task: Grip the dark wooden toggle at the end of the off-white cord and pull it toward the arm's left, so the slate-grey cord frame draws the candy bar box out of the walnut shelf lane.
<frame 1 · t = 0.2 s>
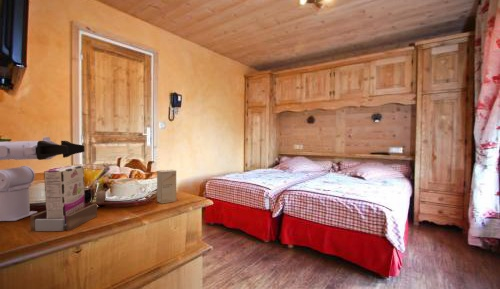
hand: (76, 149, 76), 22 cm above the dresser top, tool horizontal, fingers open, 7 cm apart
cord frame: (80, 207, 77), point 3 cm above the dresser top, slide at 0.0 cm
shelf lane: (67, 222, 72), on the dresser top
candy bar box: (67, 223, 72), resting in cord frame
skincare box: (167, 201, 95), on the dresser top
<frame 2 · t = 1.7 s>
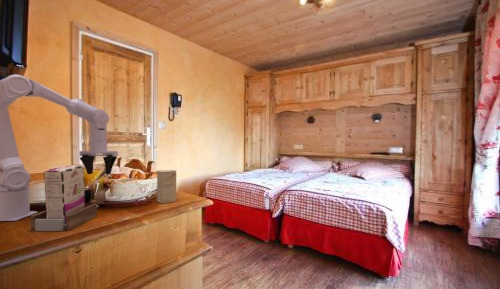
hand: (99, 174, 97), 10 cm above the dresser top, tool pointing down, fingers open, 7 cm apart
nothing on the dresser top moved.
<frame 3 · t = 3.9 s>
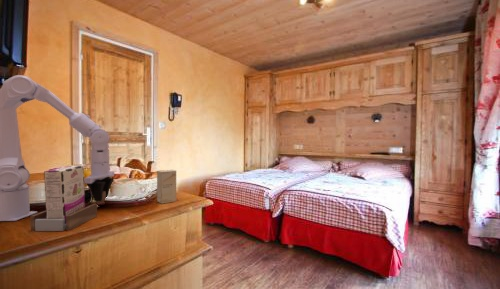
hand: (101, 199, 88), 2 cm above the dresser top, tool pointing down, fingers closed on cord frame, 3 cm apart
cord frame: (80, 207, 78), point 3 cm above the dresser top, slide at 0.0 cm, touching gripper
everything else where it was.
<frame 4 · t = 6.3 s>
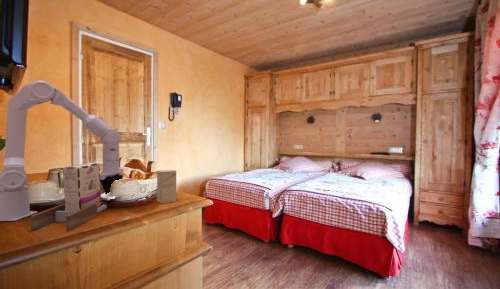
hand: (111, 194, 95), 2 cm above the dresser top, tool pointing down, fingers closed on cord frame, 3 cm apart
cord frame: (94, 201, 84), point 3 cm above the dresser top, slide at 7.0 cm, touching candy bar box, gripper
candy bar box: (84, 215, 78), resting in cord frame
everything else where it was.
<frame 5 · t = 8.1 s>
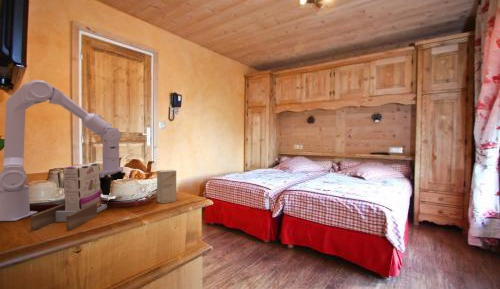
hand: (111, 192, 95), 3 cm above the dresser top, tool pointing down, fingers open, 7 cm apart
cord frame: (94, 201, 85), point 3 cm above the dresser top, slide at 7.0 cm
candy bar box: (84, 215, 78), resting in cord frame
everything else where it was.
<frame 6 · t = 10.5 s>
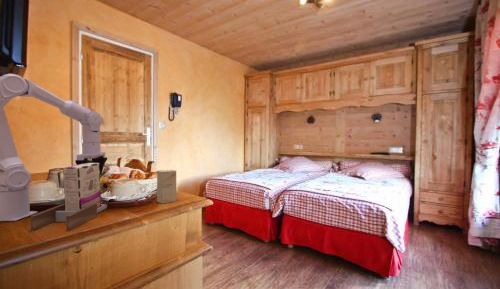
hand: (92, 176, 96), 9 cm above the dresser top, tool pointing down, fingers open, 7 cm apart
nothing on the dresser top moved.
at the end: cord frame slide at 7.0 cm; candy bar box inside the target area (0.6 cm from its centre), resting in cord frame; candy bar box tilted 0° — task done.
